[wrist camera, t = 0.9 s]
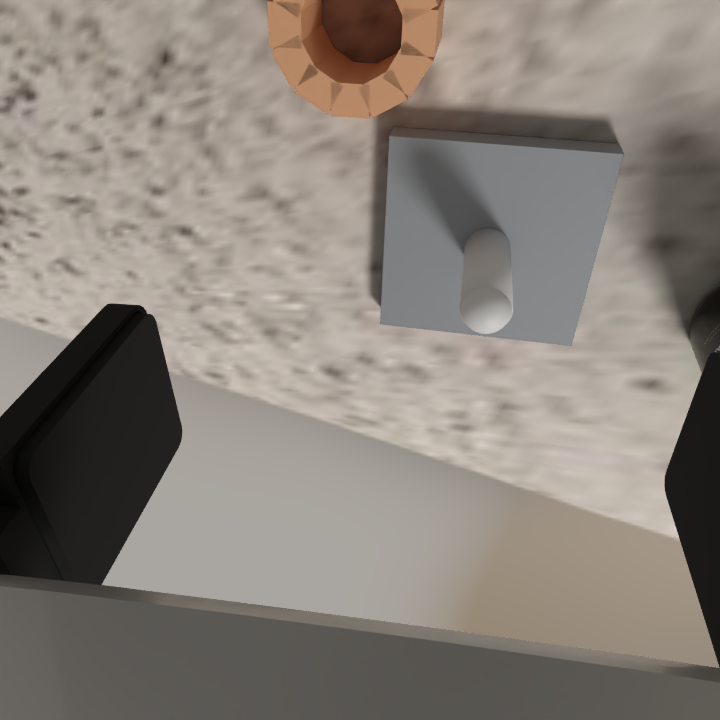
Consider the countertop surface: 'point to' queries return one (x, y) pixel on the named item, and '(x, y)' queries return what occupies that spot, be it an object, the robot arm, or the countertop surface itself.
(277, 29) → the ring
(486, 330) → the post block
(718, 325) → the supplement bottle
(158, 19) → the countertop surface
